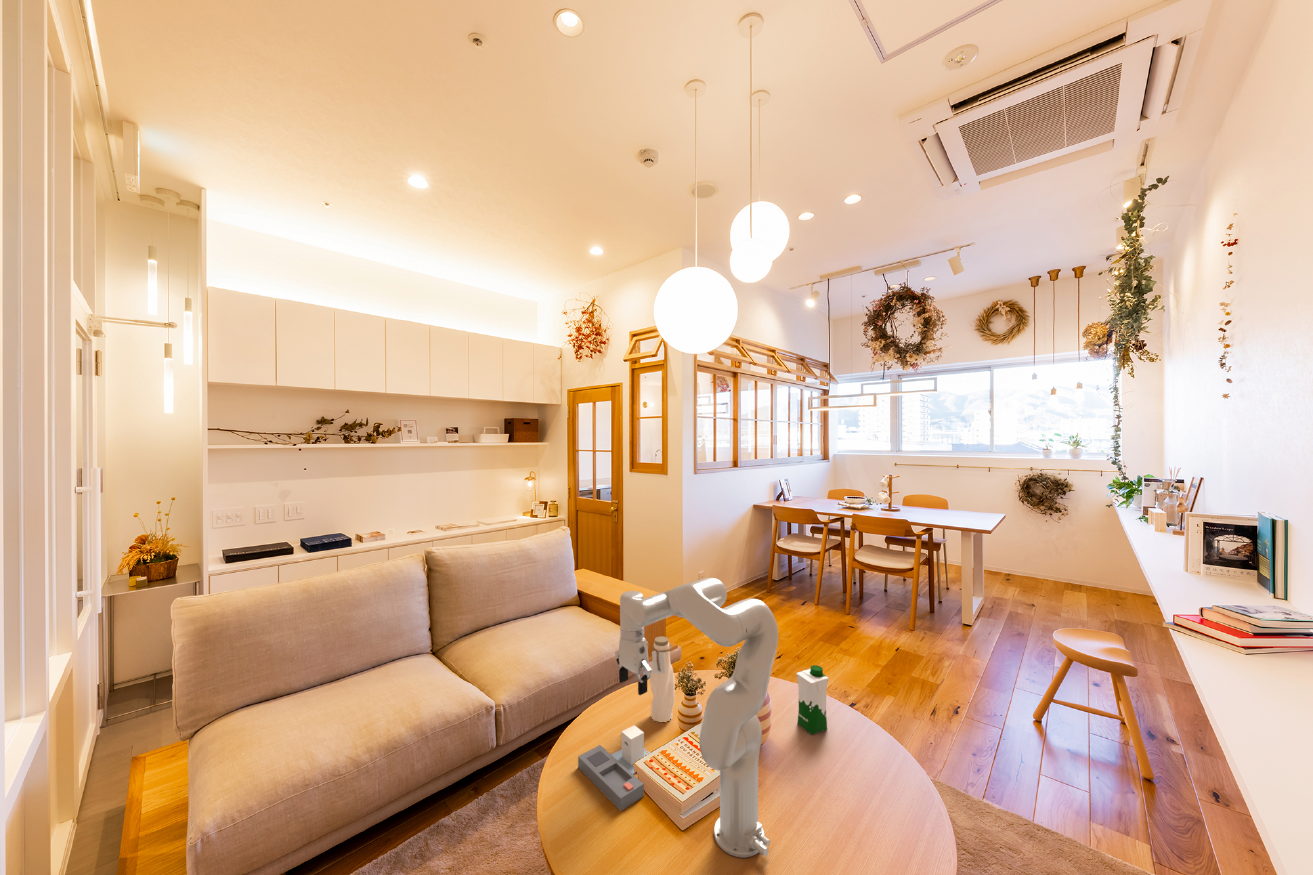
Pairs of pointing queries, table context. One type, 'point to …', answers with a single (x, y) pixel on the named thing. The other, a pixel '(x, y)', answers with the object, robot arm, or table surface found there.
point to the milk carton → (812, 699)
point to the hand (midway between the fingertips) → (633, 687)
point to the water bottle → (662, 681)
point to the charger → (632, 744)
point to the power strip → (611, 777)
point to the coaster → (619, 757)
